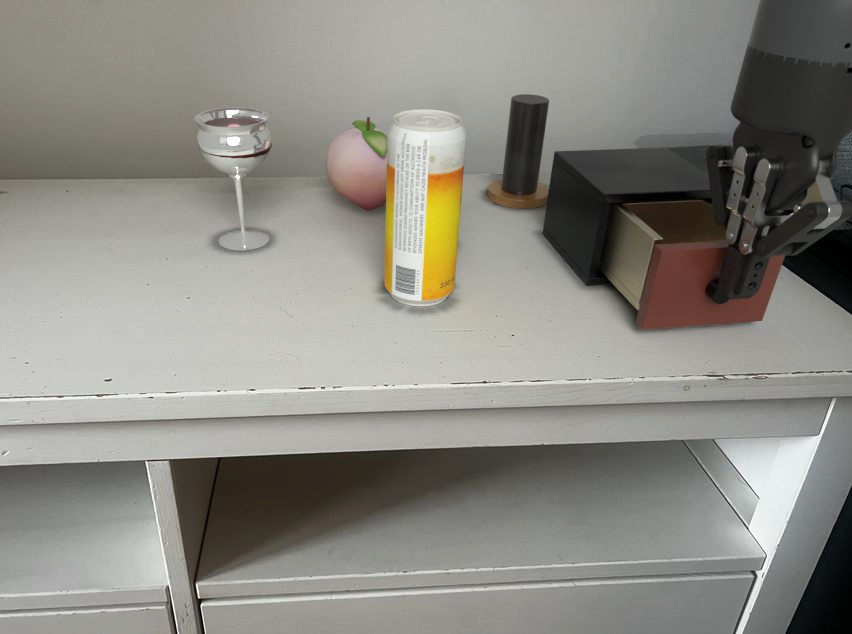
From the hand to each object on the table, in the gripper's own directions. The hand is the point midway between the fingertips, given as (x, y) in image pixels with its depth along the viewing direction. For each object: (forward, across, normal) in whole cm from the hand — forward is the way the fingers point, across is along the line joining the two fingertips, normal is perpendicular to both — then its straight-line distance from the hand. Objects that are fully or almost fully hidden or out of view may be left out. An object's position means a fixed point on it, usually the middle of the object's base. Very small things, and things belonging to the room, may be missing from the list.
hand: (735, 294), depth 53 cm
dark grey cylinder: (+4, -33, -5) cm, 34 cm away
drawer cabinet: (+5, -17, 0) cm, 18 cm away
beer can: (+5, -12, -21) cm, 25 cm away
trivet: (+5, -33, -5) cm, 34 cm away
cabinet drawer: (+4, -7, 0) cm, 8 cm away
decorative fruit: (+5, -31, -23) cm, 39 cm away
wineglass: (+5, -25, -36) cm, 44 cm away
